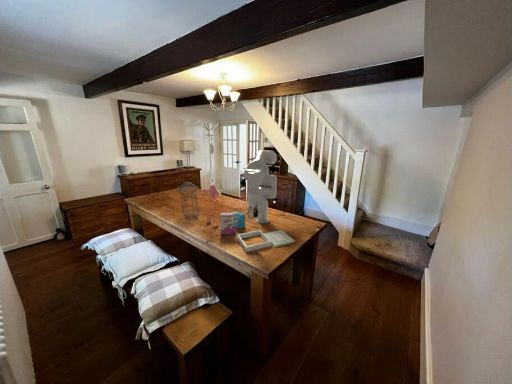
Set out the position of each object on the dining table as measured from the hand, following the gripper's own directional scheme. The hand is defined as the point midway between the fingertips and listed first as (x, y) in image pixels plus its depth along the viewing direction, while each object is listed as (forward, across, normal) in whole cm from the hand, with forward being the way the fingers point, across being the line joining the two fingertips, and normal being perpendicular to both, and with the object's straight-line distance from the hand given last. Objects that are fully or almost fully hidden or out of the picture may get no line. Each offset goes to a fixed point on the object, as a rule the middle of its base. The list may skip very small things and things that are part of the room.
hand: (254, 215), depth 136 cm
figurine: (+22, -43, -18) cm, 51 cm away
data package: (+22, -29, -2) cm, 36 cm away
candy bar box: (+22, -21, -13) cm, 33 cm away
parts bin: (+21, 0, 0) cm, 21 cm away
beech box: (+2, 0, 0) cm, 2 cm away
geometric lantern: (+22, -65, -36) cm, 77 cm away
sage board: (+21, +3, +19) cm, 28 cm away
